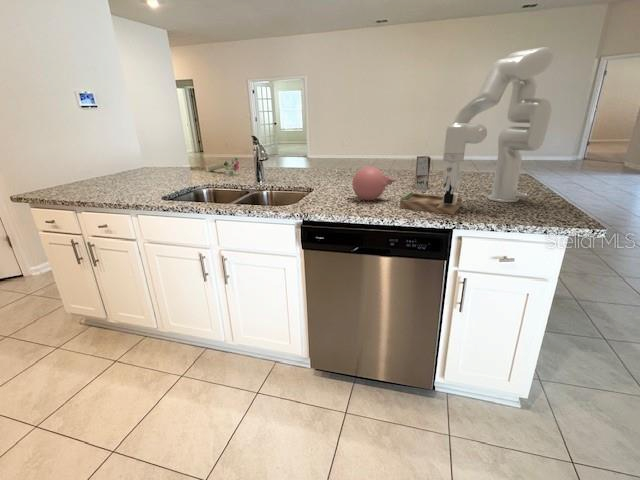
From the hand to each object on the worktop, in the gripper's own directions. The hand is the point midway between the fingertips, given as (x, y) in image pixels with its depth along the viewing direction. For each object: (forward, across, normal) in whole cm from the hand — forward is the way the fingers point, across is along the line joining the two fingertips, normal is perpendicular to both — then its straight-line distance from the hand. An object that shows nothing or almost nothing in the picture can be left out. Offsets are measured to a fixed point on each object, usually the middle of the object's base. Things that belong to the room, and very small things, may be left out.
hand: (448, 203), depth 139 cm
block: (+1, +5, 0) cm, 5 cm away
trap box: (+3, +2, +7) cm, 8 cm away
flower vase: (+4, +28, +156) cm, 159 cm away
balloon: (+3, +3, +34) cm, 34 cm away
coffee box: (+3, +40, +22) cm, 45 cm away
